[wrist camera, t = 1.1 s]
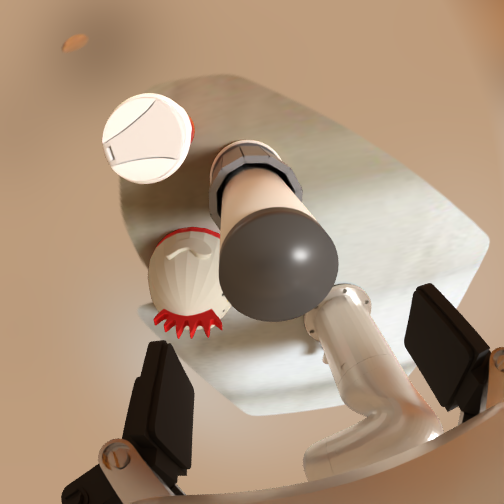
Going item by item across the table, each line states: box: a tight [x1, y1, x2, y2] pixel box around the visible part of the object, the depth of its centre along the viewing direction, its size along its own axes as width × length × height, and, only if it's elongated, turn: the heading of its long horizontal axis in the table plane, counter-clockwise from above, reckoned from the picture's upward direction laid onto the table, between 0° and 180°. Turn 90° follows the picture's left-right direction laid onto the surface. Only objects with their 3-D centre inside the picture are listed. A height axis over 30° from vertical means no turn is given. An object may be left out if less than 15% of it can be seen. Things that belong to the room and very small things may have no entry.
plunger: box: [219, 163, 338, 322], centre depth 23 cm, size 6×6×17 cm
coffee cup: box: [102, 93, 195, 184], centre depth 28 cm, size 8×8×15 cm
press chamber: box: [209, 140, 303, 230], centre depth 33 cm, size 10×10×12 cm
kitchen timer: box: [148, 227, 232, 339], centre depth 37 cm, size 14×14×15 cm
